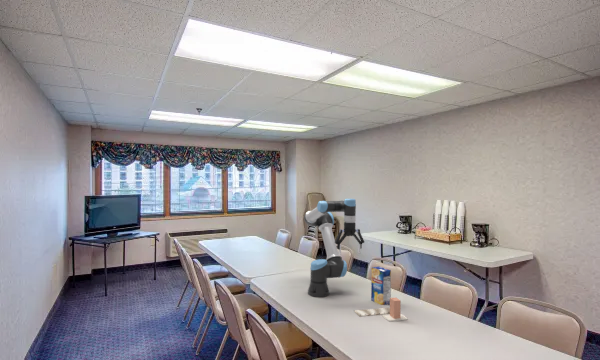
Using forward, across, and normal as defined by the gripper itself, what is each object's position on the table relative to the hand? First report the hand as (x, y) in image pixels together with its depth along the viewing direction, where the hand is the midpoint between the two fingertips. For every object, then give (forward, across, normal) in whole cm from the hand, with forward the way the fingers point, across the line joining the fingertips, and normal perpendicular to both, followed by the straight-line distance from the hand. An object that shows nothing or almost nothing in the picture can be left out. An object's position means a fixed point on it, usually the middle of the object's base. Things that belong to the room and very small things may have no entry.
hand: (349, 254), depth 215 cm
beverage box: (+32, +21, -4) cm, 38 cm away
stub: (+31, +16, -32) cm, 47 cm away
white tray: (+32, +9, -27) cm, 43 cm away
